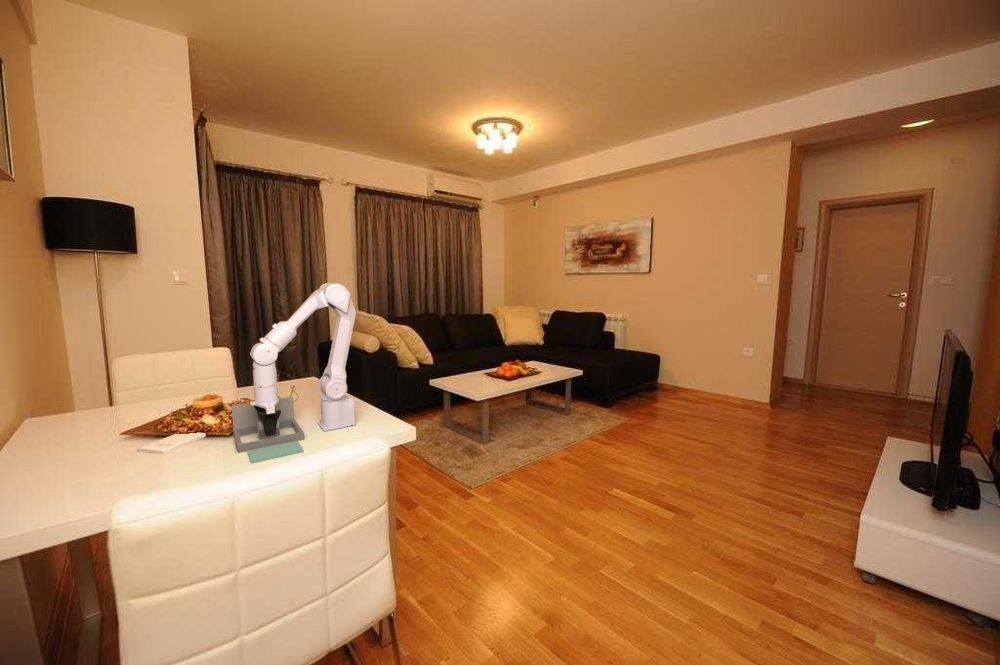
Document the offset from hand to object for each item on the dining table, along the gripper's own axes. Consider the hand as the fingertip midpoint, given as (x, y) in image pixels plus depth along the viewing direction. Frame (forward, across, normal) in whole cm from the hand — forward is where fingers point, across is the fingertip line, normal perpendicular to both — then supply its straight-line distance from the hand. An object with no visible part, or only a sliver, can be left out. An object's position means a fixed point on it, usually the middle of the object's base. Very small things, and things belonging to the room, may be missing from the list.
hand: (268, 431), depth 118 cm
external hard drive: (+3, -10, -22) cm, 24 cm away
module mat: (+2, +12, 0) cm, 12 cm away
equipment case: (+2, 0, 0) cm, 2 cm away
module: (+2, 0, 0) cm, 2 cm away
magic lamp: (+2, -19, +3) cm, 19 cm away
